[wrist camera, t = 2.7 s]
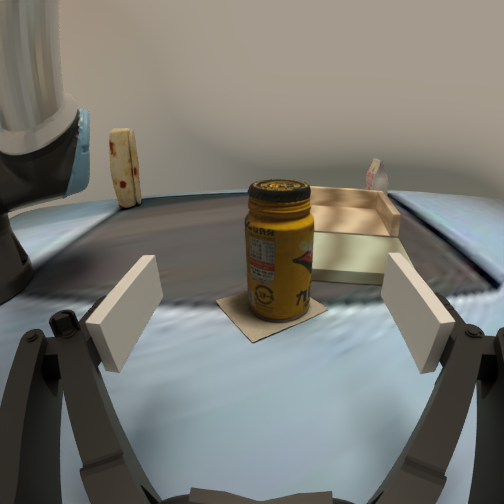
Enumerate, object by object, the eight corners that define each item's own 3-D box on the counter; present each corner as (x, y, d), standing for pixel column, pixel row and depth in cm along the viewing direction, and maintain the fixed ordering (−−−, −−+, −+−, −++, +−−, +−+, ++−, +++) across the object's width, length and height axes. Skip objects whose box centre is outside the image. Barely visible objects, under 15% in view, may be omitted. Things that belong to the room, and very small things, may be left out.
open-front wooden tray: (246, 275, 35) (245, 235, 33) (282, 209, 60) (282, 185, 58) (415, 286, 30) (423, 247, 28) (380, 215, 55) (382, 191, 53)
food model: (124, 202, 74) (116, 129, 66) (147, 199, 74) (140, 125, 66) (111, 212, 65) (101, 130, 57) (136, 210, 65) (127, 125, 57)
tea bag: (378, 197, 69) (381, 158, 65) (386, 204, 63) (389, 161, 59) (365, 196, 70) (367, 157, 66) (371, 203, 64) (374, 160, 60)
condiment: (327, 310, 28) (337, 186, 23) (252, 343, 24) (246, 201, 19) (284, 280, 34) (284, 174, 29) (215, 303, 30) (204, 185, 25)
